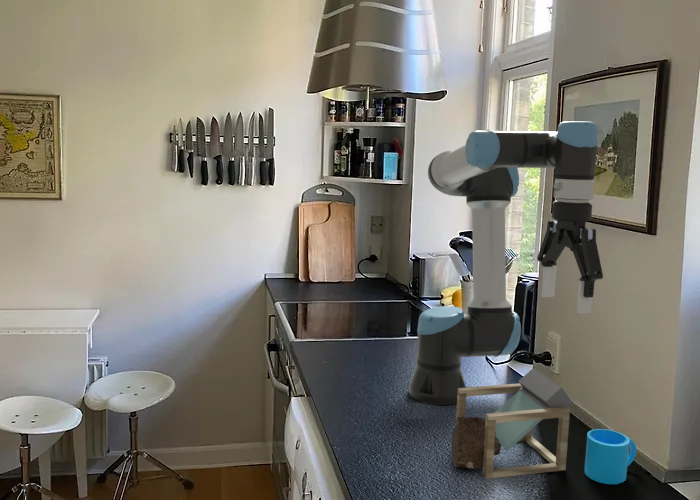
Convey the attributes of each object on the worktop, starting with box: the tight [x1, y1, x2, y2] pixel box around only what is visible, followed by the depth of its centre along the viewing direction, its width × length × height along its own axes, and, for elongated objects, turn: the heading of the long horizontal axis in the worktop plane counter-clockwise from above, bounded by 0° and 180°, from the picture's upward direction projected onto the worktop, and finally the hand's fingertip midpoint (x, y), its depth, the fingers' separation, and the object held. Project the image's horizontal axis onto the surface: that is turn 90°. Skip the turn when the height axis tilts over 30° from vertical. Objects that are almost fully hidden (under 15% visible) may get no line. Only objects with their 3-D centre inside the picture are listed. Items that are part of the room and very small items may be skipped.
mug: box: [584, 428, 637, 485], centre depth 142 cm, size 12×8×8 cm
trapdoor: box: [493, 367, 573, 452], centre depth 148 cm, size 12×17×4 cm
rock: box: [450, 416, 502, 470], centre depth 142 cm, size 12×10×10 cm
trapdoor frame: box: [455, 382, 571, 479], centre depth 148 cm, size 16×18×13 cm
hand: (565, 304), depth 140 cm, fingers open, 13 cm apart
